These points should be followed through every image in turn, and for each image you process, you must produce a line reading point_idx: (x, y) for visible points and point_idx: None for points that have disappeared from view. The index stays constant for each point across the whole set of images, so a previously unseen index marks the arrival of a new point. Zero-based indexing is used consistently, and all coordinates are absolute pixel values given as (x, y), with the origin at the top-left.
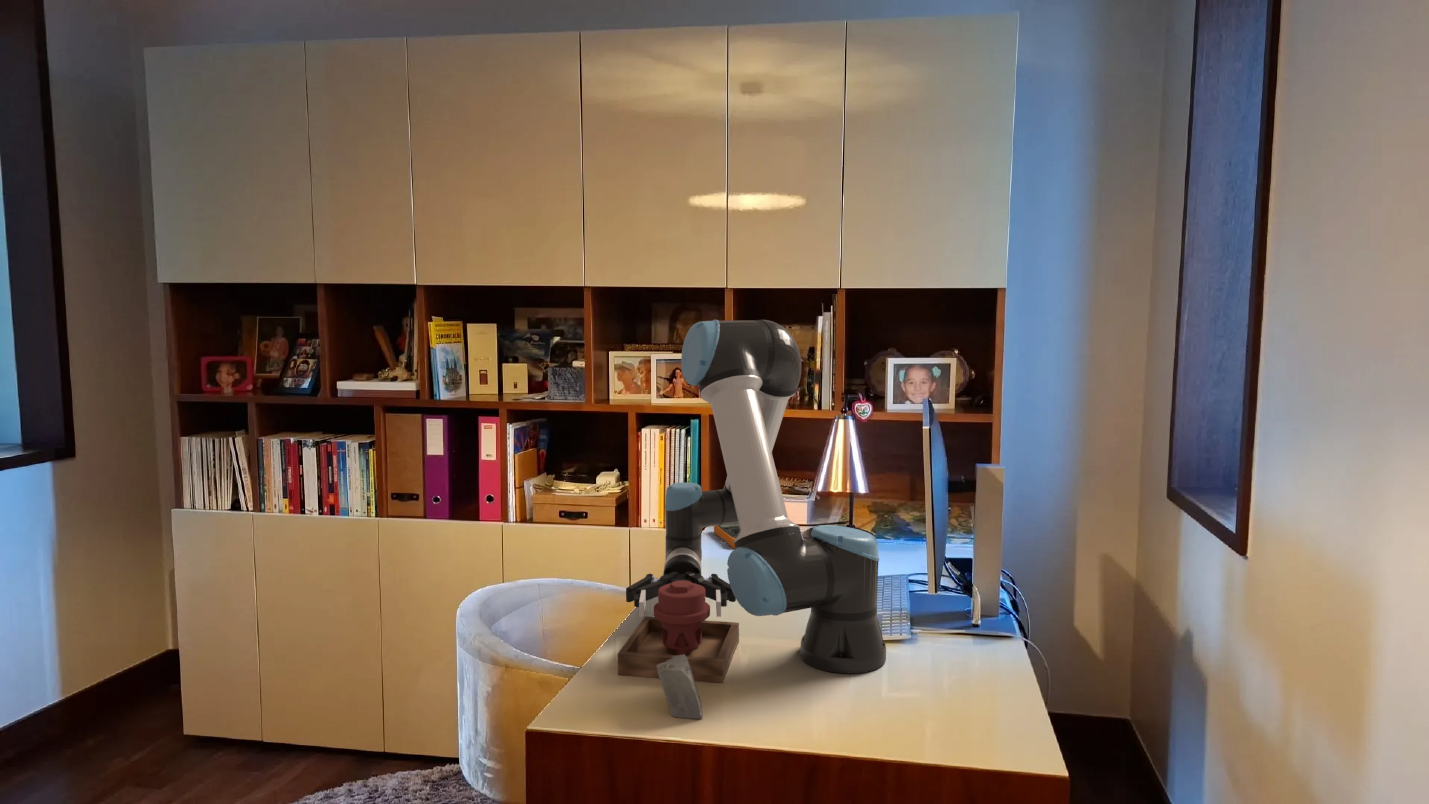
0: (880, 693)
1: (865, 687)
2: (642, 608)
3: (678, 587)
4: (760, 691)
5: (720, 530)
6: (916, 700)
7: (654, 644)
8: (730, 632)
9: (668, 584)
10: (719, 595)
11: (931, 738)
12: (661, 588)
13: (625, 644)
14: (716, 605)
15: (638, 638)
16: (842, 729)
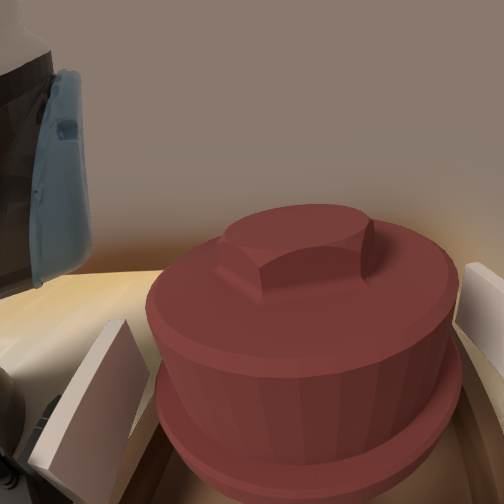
0: (15, 343)
1: (16, 354)
2: (463, 288)
3: (304, 206)
4: (144, 347)
5: None
6: (4, 332)
7: (424, 486)
8: (118, 485)
9: (431, 288)
10: (75, 379)
11: (47, 292)
12: (426, 244)
13: (464, 351)
14: (123, 380)
15: (470, 423)
16: (98, 294)
